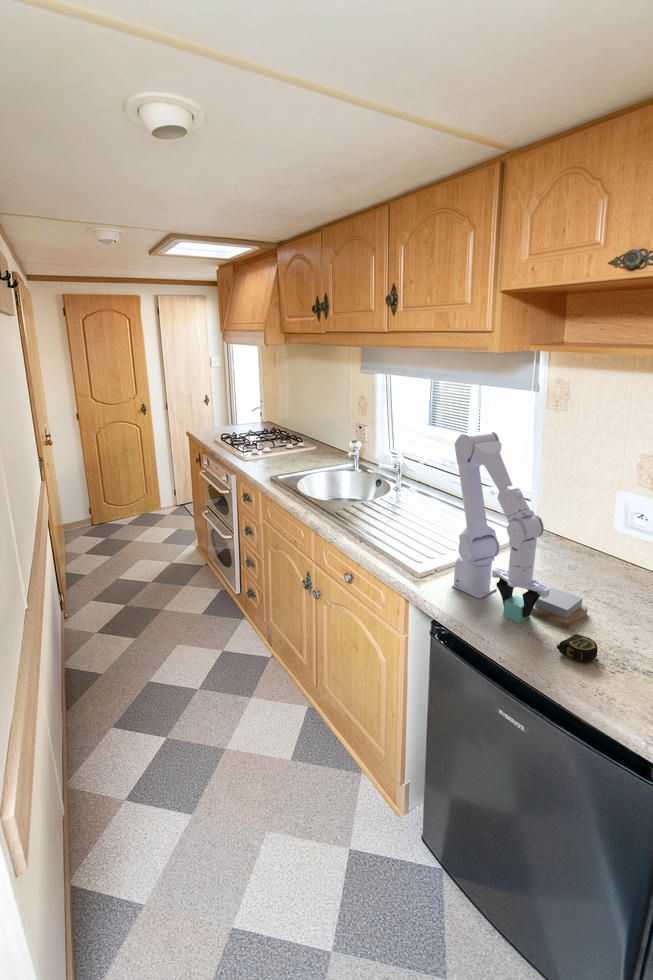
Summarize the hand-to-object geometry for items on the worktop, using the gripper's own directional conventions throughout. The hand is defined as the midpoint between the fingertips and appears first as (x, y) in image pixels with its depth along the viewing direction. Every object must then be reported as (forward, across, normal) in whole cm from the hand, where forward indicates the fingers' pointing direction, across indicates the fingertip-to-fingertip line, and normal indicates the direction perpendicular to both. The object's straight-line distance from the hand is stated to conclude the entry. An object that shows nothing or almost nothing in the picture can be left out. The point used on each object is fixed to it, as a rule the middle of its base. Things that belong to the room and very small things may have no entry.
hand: (516, 611), depth 131 cm
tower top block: (0, +6, +9) cm, 11 cm away
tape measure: (+2, +17, -4) cm, 18 cm away
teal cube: (+2, 0, 0) cm, 2 cm away
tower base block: (+2, +6, +9) cm, 11 cm away
